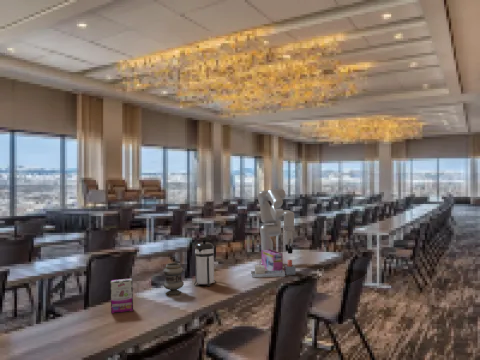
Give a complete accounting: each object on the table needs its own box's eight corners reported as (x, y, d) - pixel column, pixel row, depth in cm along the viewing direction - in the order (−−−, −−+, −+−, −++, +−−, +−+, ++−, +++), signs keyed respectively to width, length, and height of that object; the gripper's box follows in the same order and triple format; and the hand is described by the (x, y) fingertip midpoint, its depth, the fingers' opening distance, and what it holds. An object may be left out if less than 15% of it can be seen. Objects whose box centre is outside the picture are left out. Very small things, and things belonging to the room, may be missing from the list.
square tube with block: (283, 271, 294) (283, 263, 294) (292, 271, 294) (292, 263, 294) (285, 275, 282) (285, 266, 282) (295, 274, 282) (295, 266, 282)
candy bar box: (133, 308, 212) (132, 277, 212) (133, 311, 207) (132, 280, 207) (111, 310, 209) (110, 279, 209) (110, 313, 204) (110, 281, 204)
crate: (255, 274, 285) (254, 265, 285) (264, 274, 285) (263, 264, 285) (255, 276, 278) (255, 266, 278) (265, 276, 279) (264, 266, 279)
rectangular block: (251, 274, 287) (251, 270, 287) (282, 273, 288) (282, 269, 288) (252, 277, 277) (252, 273, 277) (285, 276, 278) (284, 272, 278)
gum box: (260, 266, 313) (260, 249, 313) (269, 265, 316) (269, 248, 316) (273, 272, 291) (273, 254, 291) (283, 271, 294) (282, 253, 294)
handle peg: (287, 273, 287) (287, 259, 287) (291, 273, 287) (291, 259, 287) (288, 274, 284) (287, 260, 284) (292, 274, 284) (292, 260, 284)
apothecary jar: (159, 295, 237) (159, 265, 237) (171, 290, 248) (170, 261, 248) (176, 297, 232) (176, 266, 232) (187, 292, 243) (187, 262, 243)
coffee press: (220, 285, 256) (220, 239, 257) (197, 288, 250) (196, 241, 251) (212, 279, 272) (212, 236, 273) (190, 282, 267) (189, 237, 267)
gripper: (282, 226, 295) (282, 249, 295) (285, 230, 277) (285, 254, 278) (292, 226, 295) (292, 249, 295) (296, 230, 278) (296, 254, 278)
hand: (289, 252), depth 287 cm, fingers open, 9 cm apart
